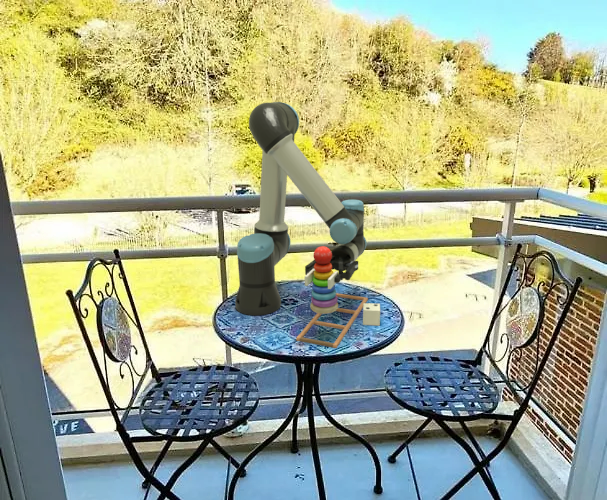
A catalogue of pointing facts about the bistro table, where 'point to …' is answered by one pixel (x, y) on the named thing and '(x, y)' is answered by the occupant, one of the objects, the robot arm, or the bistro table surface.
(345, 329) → the ladder
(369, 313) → the die
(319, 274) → the stacking toy
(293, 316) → the bistro table surface
